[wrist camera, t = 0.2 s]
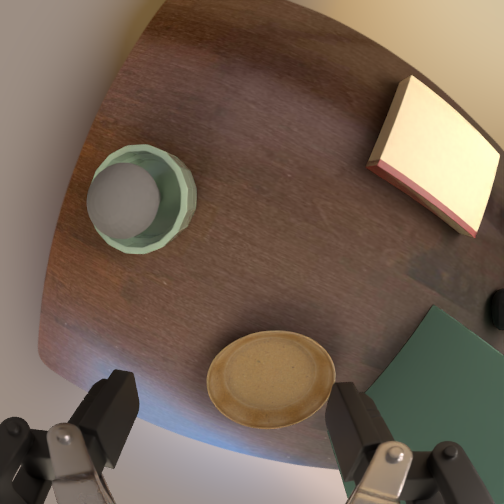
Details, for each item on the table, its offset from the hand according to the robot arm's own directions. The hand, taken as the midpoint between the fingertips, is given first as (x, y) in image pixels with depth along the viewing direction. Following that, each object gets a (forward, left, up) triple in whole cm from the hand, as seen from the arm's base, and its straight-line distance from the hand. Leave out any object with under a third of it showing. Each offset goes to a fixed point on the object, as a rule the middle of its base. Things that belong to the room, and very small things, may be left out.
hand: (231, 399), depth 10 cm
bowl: (-7, -9, -20) cm, 23 cm away
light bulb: (-7, -9, -20) cm, 23 cm away
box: (+19, +28, -20) cm, 39 cm away
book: (-14, +22, -20) cm, 33 cm away
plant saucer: (+13, +4, -20) cm, 24 cm away
